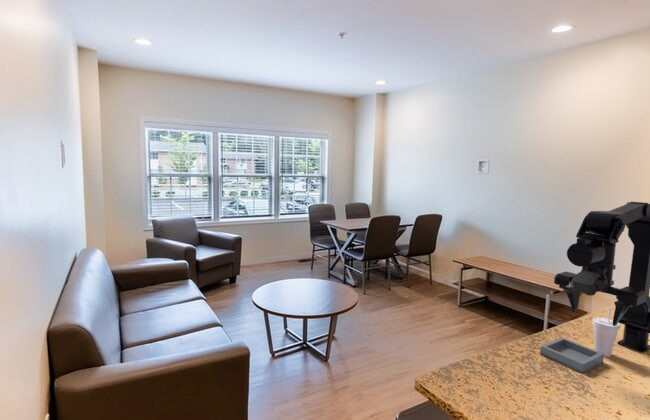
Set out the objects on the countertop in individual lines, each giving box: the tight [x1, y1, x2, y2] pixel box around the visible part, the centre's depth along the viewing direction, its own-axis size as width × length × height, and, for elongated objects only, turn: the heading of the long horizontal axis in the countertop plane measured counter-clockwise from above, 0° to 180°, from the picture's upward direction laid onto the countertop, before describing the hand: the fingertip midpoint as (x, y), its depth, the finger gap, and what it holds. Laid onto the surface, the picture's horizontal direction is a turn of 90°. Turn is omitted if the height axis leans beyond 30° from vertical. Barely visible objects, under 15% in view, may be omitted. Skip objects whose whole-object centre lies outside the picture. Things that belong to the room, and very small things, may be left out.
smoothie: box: [592, 306, 621, 358], centre depth 104 cm, size 6×6×14 cm
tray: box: [539, 337, 605, 374], centre depth 102 cm, size 11×11×2 cm
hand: (593, 318), depth 95 cm, fingers open, 9 cm apart
